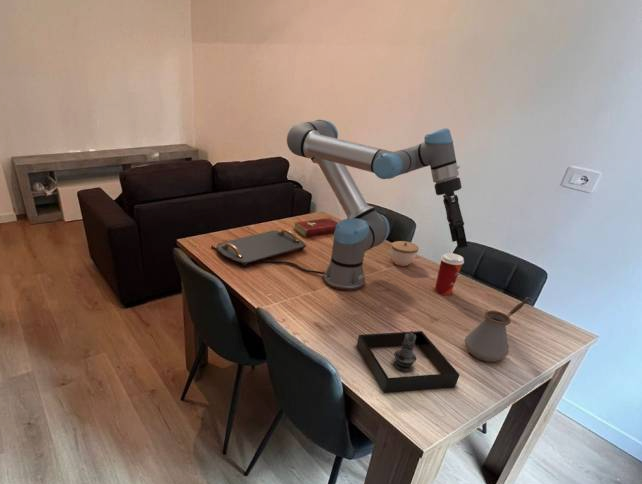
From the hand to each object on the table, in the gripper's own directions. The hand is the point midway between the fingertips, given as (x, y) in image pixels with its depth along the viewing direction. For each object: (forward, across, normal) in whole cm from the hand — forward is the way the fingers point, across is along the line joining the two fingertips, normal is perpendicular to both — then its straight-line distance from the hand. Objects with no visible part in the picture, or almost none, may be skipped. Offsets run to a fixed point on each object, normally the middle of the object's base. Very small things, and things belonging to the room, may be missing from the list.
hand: (459, 244), depth 134 cm
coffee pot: (+29, -20, -1) cm, 36 cm away
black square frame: (+22, -38, +24) cm, 50 cm away
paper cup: (+18, +12, +8) cm, 23 cm away
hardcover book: (-12, +55, +55) cm, 79 cm away
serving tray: (-13, +21, +75) cm, 79 cm away
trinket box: (+8, +32, +20) cm, 39 cm away
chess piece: (+23, -38, +24) cm, 50 cm away
